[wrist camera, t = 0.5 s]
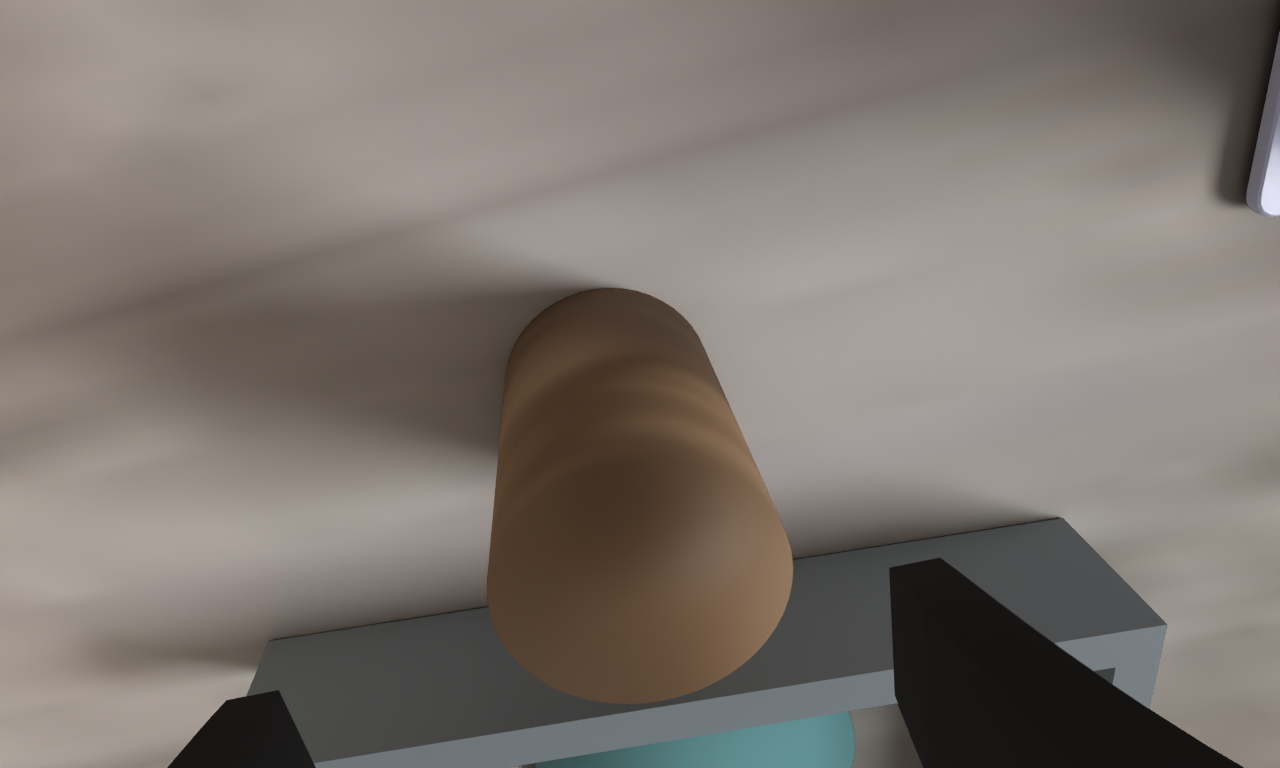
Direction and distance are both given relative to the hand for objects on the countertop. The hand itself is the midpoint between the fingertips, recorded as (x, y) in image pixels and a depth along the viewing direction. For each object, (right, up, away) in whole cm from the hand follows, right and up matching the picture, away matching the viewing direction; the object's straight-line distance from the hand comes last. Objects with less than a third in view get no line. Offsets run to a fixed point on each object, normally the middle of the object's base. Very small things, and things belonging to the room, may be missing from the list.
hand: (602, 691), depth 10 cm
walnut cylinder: (0, +4, +9) cm, 9 cm away
